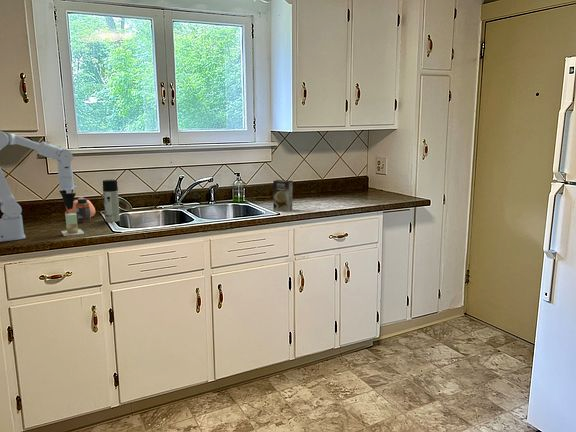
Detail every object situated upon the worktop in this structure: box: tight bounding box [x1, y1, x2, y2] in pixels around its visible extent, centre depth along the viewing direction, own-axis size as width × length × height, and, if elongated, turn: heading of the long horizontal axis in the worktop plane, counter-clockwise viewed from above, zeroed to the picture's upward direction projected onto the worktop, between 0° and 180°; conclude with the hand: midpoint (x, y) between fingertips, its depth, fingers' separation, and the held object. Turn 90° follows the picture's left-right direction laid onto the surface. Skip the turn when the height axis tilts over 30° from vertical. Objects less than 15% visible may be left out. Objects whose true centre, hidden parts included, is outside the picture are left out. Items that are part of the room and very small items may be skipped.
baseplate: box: [61, 228, 85, 237], centre depth 208 cm, size 8×10×1 cm
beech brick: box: [65, 223, 79, 234], centre depth 207 cm, size 4×4×4 cm
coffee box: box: [272, 179, 294, 212], centre depth 258 cm, size 9×6×16 cm
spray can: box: [102, 179, 121, 223], centre depth 230 cm, size 7×7×20 cm
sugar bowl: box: [64, 197, 96, 218], centre depth 239 cm, size 12×14×10 cm
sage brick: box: [64, 213, 78, 225], centre depth 206 cm, size 4×4×4 cm
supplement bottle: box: [76, 197, 92, 224], centre depth 230 cm, size 6×6×11 cm
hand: (68, 207), depth 211 cm, fingers open, 7 cm apart
